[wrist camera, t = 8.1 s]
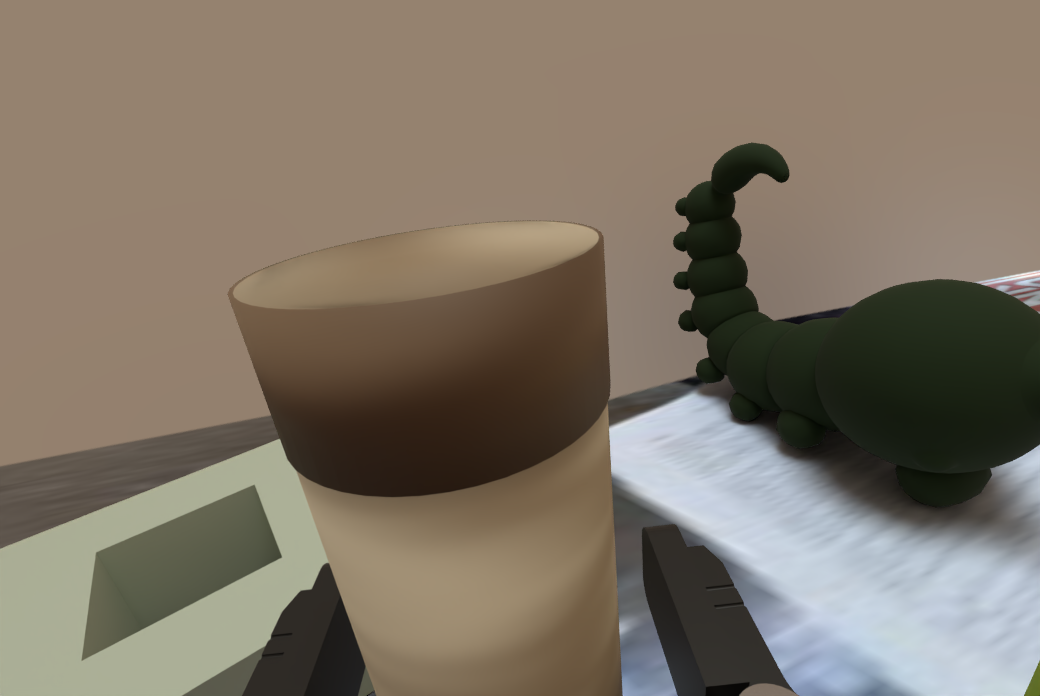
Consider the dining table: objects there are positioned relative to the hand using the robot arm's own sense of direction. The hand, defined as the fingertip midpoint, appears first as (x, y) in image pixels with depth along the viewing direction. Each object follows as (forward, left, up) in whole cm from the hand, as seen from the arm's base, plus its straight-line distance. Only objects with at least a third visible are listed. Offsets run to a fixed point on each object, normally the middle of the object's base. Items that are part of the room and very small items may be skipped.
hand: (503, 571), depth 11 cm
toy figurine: (+26, +3, -10) cm, 28 cm away
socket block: (-7, +14, -10) cm, 19 cm away
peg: (-1, -2, -10) cm, 10 cm away
